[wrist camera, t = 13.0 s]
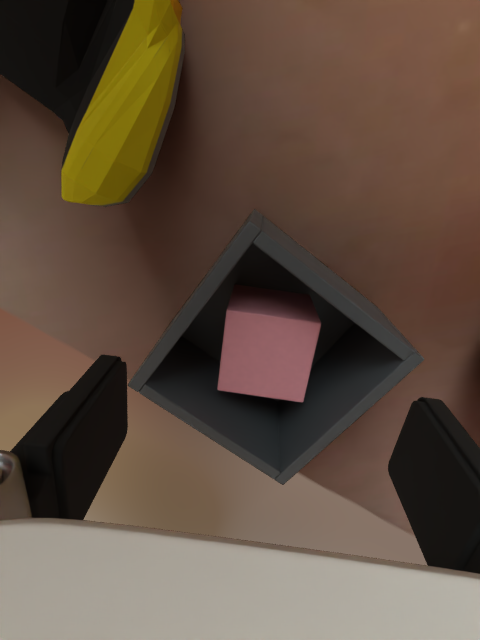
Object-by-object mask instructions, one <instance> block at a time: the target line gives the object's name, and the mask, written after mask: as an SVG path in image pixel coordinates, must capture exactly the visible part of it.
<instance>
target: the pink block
mask: <svg viewBox="0 0 480 640" xmlns="http://www.w3.org/2000/svg"><path fill="white" fill-rule="evenodd" d="M320 328H321V322H320V319H319V317H318V314H317V312H316V309H315V307H314V304H313V302H312V299H311V297H310V295H308V294H300V293H293V292H286V291H279V290H272V289H264V288H257V287H250V286H243V285H234V288H233V291H232V294H231V297H230V301H229V304H228V307H227V310H226V318H225V326H224V335H223V344H222V352H221V361H220V369H219V378H218V387H217V389H218V390H219V391H226V392H233V393H240V394H247V395H254V396H261V397H268V398H275V399H282V400H288V401H295V402H303V401H304V397H305V393H306V388H307V384H308V380H309V375H310V371H311V367H312V362H313V358H314V354H315V349H316V345H317V341H318V336H319V332H320Z"/></svg>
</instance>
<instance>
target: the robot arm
mask: <svg viewBox="0 0 480 640" xmlns="http://www.w3.org/2000/svg"><path fill="white" fill-rule="evenodd" d="M127 425H128V424H127V366H126V362H122V361H121V358H120V357H117V356H110V355H101V356H100V357H99V358H98V359H97V360H96V361H95V362H94V363H93V365H92V366H91V367H90V368H89V369H88V370H87V371H86V372H85V374H84V375H83V376H82V377H81V378H80V379H79V380H78V382H77V383H76V384H75V385H74V386H73V387H72V388H71V389H70V391H67V392H65V393H63V394H62V395H61V396H60V397H59V398H58V399H57V400H56V401H55V402H54V404H53V405H52V406H51V407H50V408H49V409H48V410H47V411H46V413H45V414H44V415H43V416H42V417H41V418H40V419H39V420H38V421H37V422H36V423H35V425H34V426H33V427H32V428H31V429H30V430H29V431H28V432H27V433H26V435H25V436H24V437H23V438H22V439H21V440H20V441H19V442H18V443H17V444H16V446H15V447H14V448H13V449H12V450H11V451H10V452H9V451H4V450H0V640H480V448H479V447H478V446H477V444H476V443H475V442H474V440H473V439H472V438H471V437H470V435H469V434H468V433H467V432H466V430H465V429H464V428H463V427H462V425H461V424H460V423H459V422H458V420H457V419H456V418H455V416H454V415H453V414H452V413H451V411H450V410H449V409H448V408H447V406H446V405H445V404H444V403H443V402H442V401H441V400H439V399H432V398H424V397H421V398H419V399H418V400H417V401H414V402H413V403H412V404H411V407H410V409H409V412H408V415H407V417H406V420H405V422H404V425H403V427H402V430H401V433H400V435H399V438H398V440H397V443H396V445H395V448H394V450H393V453H392V456H391V458H390V461H389V464H388V471H389V475H390V477H391V480H392V482H393V484H394V487H395V489H396V492H397V494H398V496H399V499H400V501H401V503H402V506H403V508H404V510H405V513H406V515H407V518H408V520H409V522H410V525H411V527H412V529H413V532H414V534H415V536H416V539H417V541H418V544H419V546H420V548H421V551H422V553H423V555H424V558H425V560H426V562H427V565H428V566H426V565H419V564H412V563H405V562H397V561H390V560H384V559H377V558H369V557H362V556H355V555H348V554H342V553H334V552H327V551H320V550H311V549H304V548H298V547H291V546H283V545H276V544H268V543H261V542H254V541H246V540H239V539H232V538H223V537H216V536H209V535H200V534H193V533H185V532H178V531H170V530H163V529H155V528H147V527H139V526H131V525H121V524H113V523H104V522H95V521H86V520H83V519H84V517H85V515H86V513H87V511H88V509H89V507H90V505H91V503H92V502H93V499H94V498H95V496H96V494H97V492H98V490H99V488H100V486H101V484H102V482H103V480H104V478H105V476H106V474H107V472H108V470H109V468H110V467H111V465H112V463H113V461H114V459H115V457H116V455H117V453H118V451H119V449H120V447H121V445H122V443H123V441H124V439H125V437H126V434H127V427H128V426H127Z"/></svg>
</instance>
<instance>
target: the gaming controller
mask: <svg viewBox="0 0 480 640" xmlns="http://www.w3.org/2000/svg"><path fill="white" fill-rule="evenodd" d="M182 9H183V8H182V6H181V5H180V3H179V1H178V0H0V74H1V75H3V76H4V77H5V78H7V79H8V80H10V81H11V82H12V83H14V84H15V85H17V86H18V87H19V88H21V89H22V90H24V91H25V92H26V93H28V94H29V95H31V96H32V97H33V98H35V99H36V100H37V101H39V102H40V103H42V104H43V105H44V106H46V107H47V108H49V109H50V110H51V111H53V112H54V113H55V114H56V115H57V116H58V117H60V118H61V119H62V120H63V122H64V124H65V126H66V129H67V131H68V133H69V135H68V140H67V144H66V148H65V153H64V157H63V162H62V169H61V188H62V198H63V199H64V200H66V201H68V202H76V203H82V204H88V205H93V206H103V207H107V206H112V205H117V204H122V203H127V202H129V201H130V200H131V199H132V198H133V196H134V195H135V194H136V193H137V191H138V190H139V189H140V188H141V186H142V185H143V184H144V183H145V182H146V180H147V179H148V178H149V177H150V175H151V174H152V172H153V169H154V166H155V163H156V160H157V157H158V154H159V151H160V148H161V145H162V143H163V140H164V137H165V134H166V131H167V128H168V125H169V122H170V119H171V116H172V113H173V110H174V107H175V102H176V97H177V91H178V86H179V80H180V75H181V69H182V64H183V58H184V53H185V34H184V32H183V30H182V28H181V26H180V21H181V14H182Z"/></svg>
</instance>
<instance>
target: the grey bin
mask: <svg viewBox="0 0 480 640" xmlns="http://www.w3.org/2000/svg"><path fill="white" fill-rule="evenodd" d="M234 285H243V286H250V287H257V288H264V289H272V290H279V291H286V292H293V293H300V294H308V295H310V297H311V299H312V302H313V304H314V307H315V309H316V312H317V314H318V317H319V319H320V322H321V328H320V332H319V336H318V341H317V345H316V349H315V354H314V358H313V362H312V367H311V371H310V375H309V380H308V384H307V388H306V393H305V397H304V401H303V402H295V401H288V400H282V399H275V398H268V397H261V396H254V395H247V394H240V393H233V392H226V391H219V390H218V389H217V387H218V378H219V369H220V361H221V352H222V344H223V335H224V326H225V318H226V310H227V307H228V304H229V301H230V297H231V294H232V291H233V288H234ZM423 360H424V358H423V357H422V356H421V354H420V353H419V352H418V351H417V350H416V349H415V348H414V347H413V346H412V345H411V344H410V342H409V341H408V340H407V339H406V338H405V337H404V336H403V335H402V334H401V333H400V332H399V330H398V329H397V328H396V327H395V326H394V325H393V324H392V323H391V322H390V321H389V320H388V318H387V317H386V316H385V315H384V314H383V313H382V312H381V311H380V310H379V309H378V307H376V306H375V305H374V304H373V303H371V302H370V301H369V300H368V299H366V298H365V297H364V296H363V295H361V294H360V293H359V292H358V291H356V290H355V289H354V288H353V287H351V286H350V285H349V284H348V283H346V282H345V281H344V280H343V279H342V278H340V277H339V276H338V275H337V274H335V273H334V272H333V271H332V270H330V269H329V268H328V267H327V266H325V265H324V264H323V263H322V262H320V261H319V260H318V259H317V258H315V257H314V256H313V255H312V254H310V253H309V252H308V251H307V250H305V249H304V248H303V247H302V246H300V245H299V244H298V243H297V242H295V241H294V240H293V239H292V238H290V237H289V236H288V235H287V234H285V233H284V232H283V231H282V230H280V229H279V228H278V227H277V226H275V225H274V224H273V223H272V222H270V221H269V220H268V219H267V218H265V217H264V216H263V215H262V214H260V213H259V212H258V211H257V210H256V209H254V210H253V211H252V213H251V214H250V215H249V217H248V218H247V220H246V221H245V222H244V224H243V225H242V226H241V228H240V229H239V230H238V232H237V233H236V235H235V236H234V237H233V239H232V240H231V241H230V243H229V244H228V245H227V247H226V248H225V250H224V251H223V252H222V254H221V255H220V256H219V258H218V259H217V260H216V262H215V263H214V265H213V266H212V267H211V269H210V270H209V271H208V273H207V274H206V275H205V277H204V278H203V280H202V281H201V282H200V284H199V285H198V286H197V288H196V289H195V290H194V292H193V293H192V295H191V296H190V297H189V299H188V300H187V301H186V303H185V304H184V305H183V307H182V308H181V310H180V311H179V312H178V314H177V315H176V316H175V318H174V319H173V320H172V322H171V323H170V325H169V326H168V327H167V329H166V330H165V331H164V333H163V334H162V336H161V337H160V339H159V340H158V342H157V343H156V344H155V346H154V347H153V349H152V350H151V352H150V353H149V355H148V356H147V358H146V359H145V360H144V362H143V363H142V365H141V366H140V368H139V369H138V371H137V372H136V373H135V375H134V376H133V378H132V379H131V381H130V382H129V384H128V386H129V387H131V388H132V389H134V390H135V391H137V392H138V391H139V393H140V394H142V395H143V396H145V397H146V398H148V399H149V400H151V401H152V402H154V403H156V404H157V405H159V406H160V407H162V408H163V409H165V410H167V411H168V412H170V413H171V414H173V415H175V416H176V417H177V418H179V419H181V420H182V421H184V422H185V423H187V424H188V425H190V426H192V427H193V428H195V429H196V430H198V431H199V432H201V433H203V434H204V435H206V436H207V437H209V438H210V439H212V440H214V441H215V442H216V443H218V444H220V445H221V446H223V447H224V448H226V449H227V450H229V451H230V452H232V453H234V454H235V455H237V456H238V457H240V458H241V459H243V460H244V461H246V462H248V463H249V464H251V465H253V466H254V467H255V468H257V469H259V470H260V471H262V472H263V473H265V474H266V475H268V476H270V477H271V478H273V479H275V480H276V481H277V482H279V483H280V484H282V485H284V484H285V483H286V482H287V481H288V480H289V479H290V478H291V477H293V476H294V475H295V474H296V473H297V472H298V471H299V470H301V469H302V468H303V467H304V466H305V465H306V464H307V463H309V462H310V461H311V460H312V459H313V458H314V457H315V456H316V455H318V454H319V453H320V452H321V451H322V450H323V449H324V448H325V447H327V446H328V445H329V444H330V443H331V442H332V441H333V440H334V439H336V438H337V437H338V436H339V435H340V434H341V433H342V432H343V431H345V430H346V429H347V428H348V427H349V426H350V425H351V424H352V423H354V422H355V421H356V420H357V419H358V418H359V417H360V416H361V415H363V414H364V413H365V412H366V411H367V410H368V409H369V408H370V407H372V406H373V405H374V404H375V403H376V402H377V401H378V400H379V399H381V398H382V397H383V396H384V395H385V394H386V393H387V392H389V391H390V390H391V389H392V388H393V387H394V386H395V385H396V384H398V383H399V382H400V381H401V380H402V379H403V378H404V377H405V376H407V375H408V374H409V373H410V372H411V371H412V370H413V369H414V368H416V367H417V366H418V365H419V364H420V363H421V362H422V361H423Z"/></svg>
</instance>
